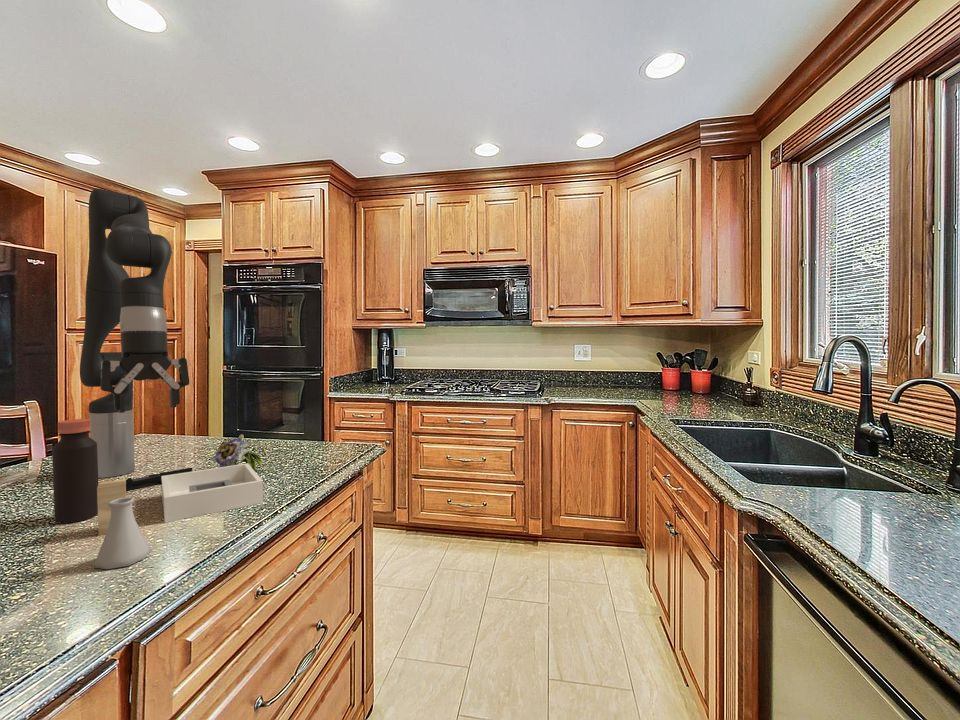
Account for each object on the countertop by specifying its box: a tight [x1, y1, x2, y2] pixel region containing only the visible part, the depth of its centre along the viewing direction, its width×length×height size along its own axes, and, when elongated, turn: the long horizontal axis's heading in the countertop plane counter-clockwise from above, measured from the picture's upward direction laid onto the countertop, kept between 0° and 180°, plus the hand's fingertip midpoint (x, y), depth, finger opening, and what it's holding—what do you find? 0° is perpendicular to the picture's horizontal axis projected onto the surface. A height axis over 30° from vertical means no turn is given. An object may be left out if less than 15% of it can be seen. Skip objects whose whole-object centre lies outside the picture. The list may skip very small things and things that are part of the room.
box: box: [161, 462, 264, 523], centre depth 100 cm, size 18×18×5 cm
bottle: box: [51, 418, 99, 524], centre depth 90 cm, size 7×7×20 cm
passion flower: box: [210, 434, 267, 472], centre depth 124 cm, size 11×11×12 cm
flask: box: [92, 496, 152, 570], centre depth 73 cm, size 7×7×10 cm
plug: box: [97, 478, 127, 537], centre depth 84 cm, size 4×4×9 cm
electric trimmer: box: [126, 467, 193, 493], centre depth 112 cm, size 4×16×3 cm, turn 140°
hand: (148, 409), depth 89 cm, fingers open, 8 cm apart
